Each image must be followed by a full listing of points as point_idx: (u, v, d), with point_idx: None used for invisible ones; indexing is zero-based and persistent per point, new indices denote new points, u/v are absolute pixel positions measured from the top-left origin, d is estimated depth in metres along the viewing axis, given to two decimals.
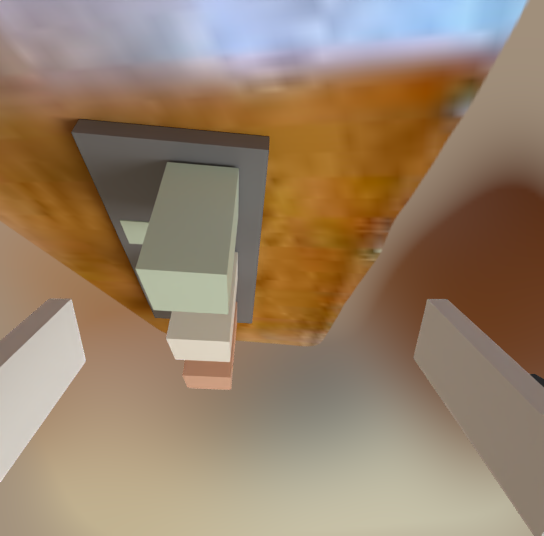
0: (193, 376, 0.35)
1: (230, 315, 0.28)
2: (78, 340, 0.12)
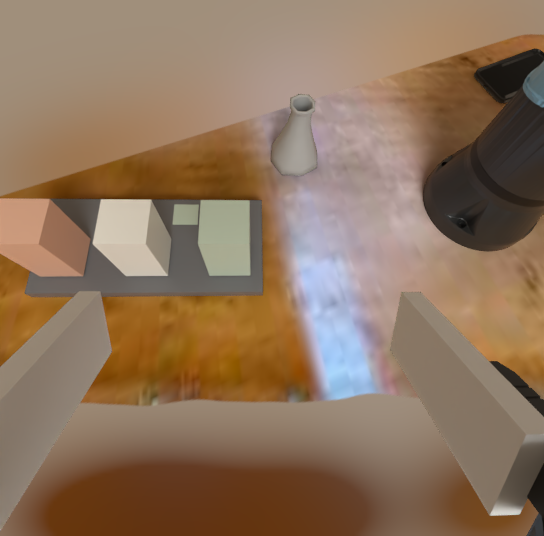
0: (44, 208, 0.33)
1: (152, 252, 0.35)
2: (105, 331, 0.13)
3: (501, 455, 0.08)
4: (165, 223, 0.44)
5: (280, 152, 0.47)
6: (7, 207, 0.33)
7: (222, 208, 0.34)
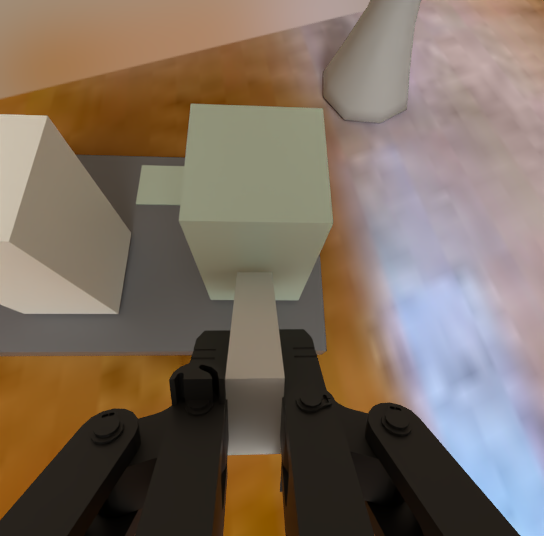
0: None
1: (52, 266, 0.12)
2: None
3: None
4: (121, 201, 0.21)
5: (346, 75, 0.25)
6: None
7: (250, 126, 0.12)
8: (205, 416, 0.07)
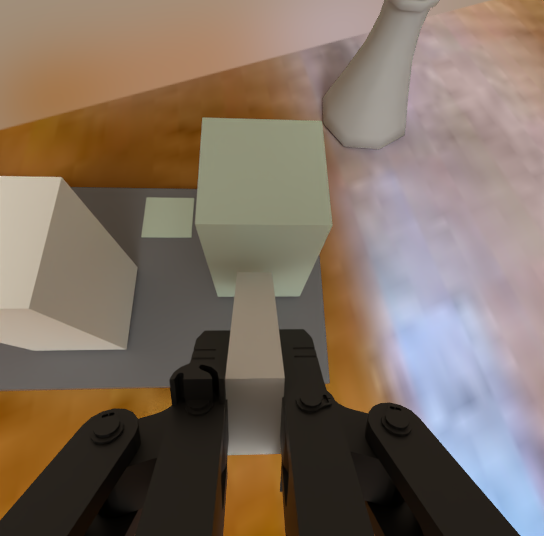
0: None
1: (66, 321, 0.13)
2: None
3: None
4: (127, 234, 0.22)
5: (345, 104, 0.26)
6: None
7: (257, 137, 0.14)
8: (205, 416, 0.07)
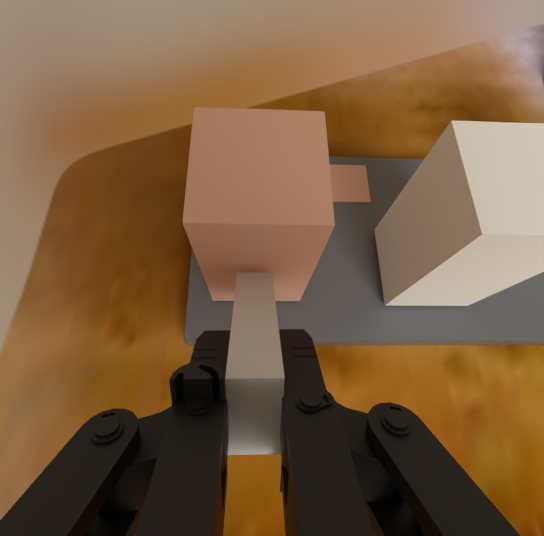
0: (319, 133, 0.13)
1: None
2: None
3: None
4: None
5: None
6: (223, 128, 0.12)
7: None
8: (205, 416, 0.07)
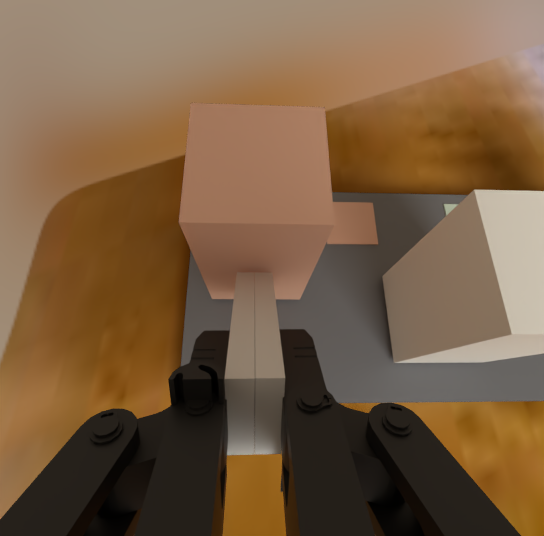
0: (318, 130, 0.12)
1: None
2: None
3: None
4: None
5: None
6: (221, 125, 0.12)
7: None
8: (204, 416, 0.07)
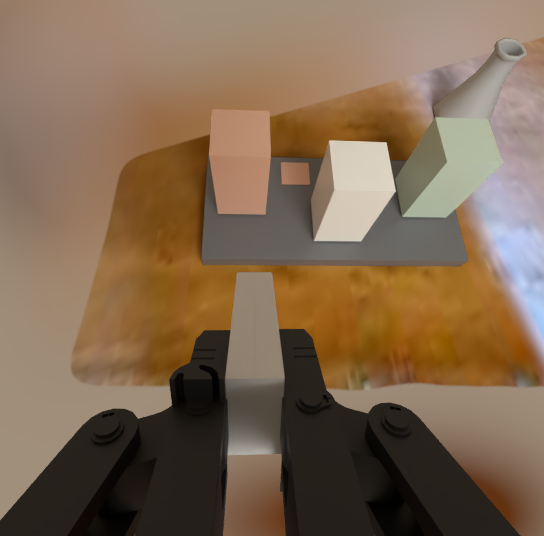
0: (266, 120, 0.29)
1: (384, 205, 0.29)
2: None
3: None
4: None
5: (456, 110, 0.42)
6: (225, 118, 0.29)
7: (461, 126, 0.30)
8: (205, 416, 0.07)
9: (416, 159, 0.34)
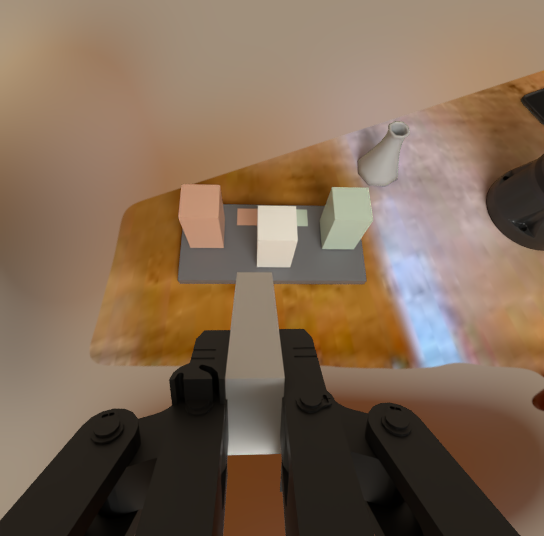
0: (217, 192, 0.44)
1: (295, 247, 0.44)
2: None
3: None
4: None
5: (370, 167, 0.57)
6: (190, 190, 0.44)
7: (349, 193, 0.45)
8: (205, 416, 0.07)
9: (326, 211, 0.49)
